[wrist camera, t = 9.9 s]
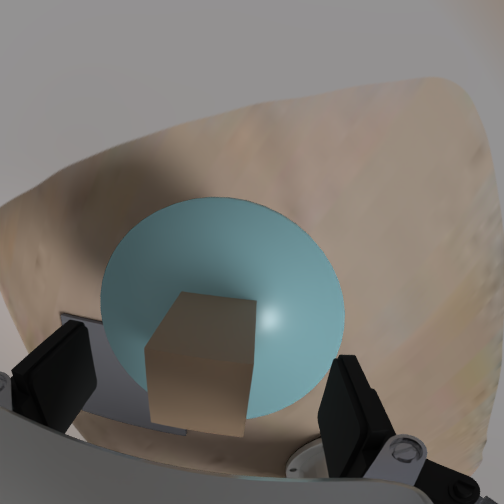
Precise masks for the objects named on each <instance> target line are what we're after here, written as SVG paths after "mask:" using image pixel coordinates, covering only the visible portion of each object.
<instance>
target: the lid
mask: <svg viewBox="0 0 504 504" xmlns="http://www.w3.org/2000/svg"><path fill="white" fill-rule="evenodd" d="M101 315H102V322H103V326H104V330H105V333H106V336H107V339H108V341H109V344H110V346H111V348H112V350H113V352H114V354H115V356H116V357H117V359H118V361H119V362H120V364H121V365H122V366H123V368H124V369H125V370H126V372H127V373H128V374H129V375H130V376H131V377H132V378H133V379H134V380H135V382H136V383H137V384H139V385H140V386H141V387H142V388H143V389H144V390H146V391H147V392H148V400H149V409H150V417H151V422H152V423H157V424H161V425H166V426H171V427H176V428H181V429H187V430H193V431H199V432H205V433H212V434H219V435H227V436H236V437H243V436H244V429H245V422H246V419H250V418H255V417H260V416H264V415H268V414H270V413H273V412H276V411H279V410H281V409H283V408H285V407H287V406H289V405H291V404H293V403H294V402H296V401H297V400H299V399H301V398H302V397H303V396H305V395H306V394H307V393H308V392H309V391H311V390H312V389H313V388H314V387H315V386H316V385H317V384H318V383H319V382H320V381H321V379H322V378H323V377H324V376H325V374H326V373H327V371H328V370H329V368H330V367H331V365H332V362H333V359H334V358H335V357H336V355H337V353H338V350H339V347H340V344H341V341H342V336H343V331H344V318H345V310H344V302H343V295H342V292H341V288H340V284H339V281H338V279H337V276H336V274H335V272H334V270H333V267H332V265H331V264H330V262H329V261H328V259H327V258H326V256H325V254H324V253H323V251H322V250H321V249H320V248H319V246H318V245H317V244H316V243H315V242H314V241H313V239H312V238H311V237H310V236H309V235H308V234H307V233H306V232H305V231H304V230H302V229H301V228H300V227H299V226H298V225H297V224H296V223H294V222H293V221H291V220H290V219H288V218H287V217H285V216H284V215H282V214H280V213H278V212H276V211H274V210H272V209H270V208H268V207H266V206H263V205H260V204H257V203H254V202H251V201H247V200H242V199H236V198H230V197H205V198H196V199H191V200H187V201H183V202H179V203H176V204H173V205H170V206H168V207H166V208H163V209H161V210H159V211H156V212H155V213H153V214H151V215H150V216H148V217H147V218H145V219H143V220H142V221H141V222H140V223H138V224H137V225H136V226H135V227H134V228H132V229H131V230H130V231H129V232H128V233H127V235H126V236H125V237H124V238H123V239H122V240H121V241H120V243H119V244H118V246H117V247H116V249H115V251H114V252H113V254H112V256H111V258H110V260H109V262H108V265H107V267H106V270H105V274H104V277H103V281H102V288H101Z"/></svg>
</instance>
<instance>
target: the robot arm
mask: <svg viewBox="0 0 504 504" xmlns="http://www.w3.org/2000/svg"><path fill="white" fill-rule="evenodd" d="M11 371H12V374H13V376H12V377H11V378H10V377H9V376H8V375H7V374H6V373H3V372H0V504H498V503H496V502H495V501H493V500H492V499H491V498H489V497H488V496H485V497H484V498H482V497H481V496H480V488H479V485H478V484H477V482H476V481H475V480H474V479H473V478H471V477H469V476H467V475H464V474H462V473H459V472H457V471H454V470H452V469H449V468H447V467H444V466H442V465H440V464H437V463H435V462H433V461H430V460H428V459H426V457H427V448H426V446H425V445H424V443H423V442H422V441H421V440H419V439H418V438H416V437H414V436H411V435H407V434H400V435H396V433H395V431H394V429H393V427H392V425H391V422H390V420H389V418H388V416H387V414H386V412H385V409H384V407H383V405H382V403H381V401H380V399H379V397H378V395H377V392H376V391H375V389H372V388H370V385H369V383H368V381H367V379H366V377H365V375H364V373H363V371H362V368H361V366H360V364H359V362H358V360H357V358H356V356H355V355H339V357H338V359H337V358H334V359H333V362H332V365H331V369H330V373H329V376H328V380H327V384H326V387H325V391H324V394H323V398H322V401H321V404H320V408H319V411H318V424H319V429H320V434H321V438H319V439H316V440H314V441H312V442H310V443H308V444H306V445H305V446H303V447H301V448H300V449H298V450H297V451H296V452H295V453H294V454H293V455H292V456H291V457H290V459H289V460H288V462H287V464H286V478H275V477H256V476H243V475H232V474H223V473H215V472H208V471H201V470H195V469H189V468H183V467H178V466H173V465H168V464H163V463H158V462H154V461H150V460H146V459H142V458H138V457H134V456H130V455H126V454H123V453H119V452H116V451H113V450H109V449H106V448H103V447H100V446H97V445H94V444H91V443H88V442H84V441H82V440H79V439H77V438H74V437H71V436H69V435H66V434H65V432H66V431H67V429H68V428H69V427H70V425H71V424H72V422H73V421H74V419H75V418H76V416H77V415H78V413H79V412H80V411H81V409H82V408H83V406H84V405H85V403H86V402H87V401H88V399H89V398H90V396H91V395H92V393H93V392H94V391H95V389H96V387H97V377H96V372H95V367H94V362H93V357H92V351H91V345H90V338H89V332H88V328H87V327H86V326H85V324H84V323H83V322H80V321H76V320H71V319H70V320H68V321H67V322H66V323H65V324H64V325H62V326H61V327H60V328H59V329H58V330H56V331H55V332H54V333H53V334H52V335H51V336H49V337H48V338H47V339H46V340H45V341H44V342H42V343H41V344H40V345H39V346H38V347H37V348H35V349H34V350H33V351H32V352H31V353H30V354H29V355H28V356H27V357H25V358H24V359H23V360H22V361H21V362H20V363H19V364H18V365H16V366H15V367H14V368H13V369H12V370H11Z"/></svg>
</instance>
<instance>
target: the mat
mask: <svg viewBox="0 0 504 504" xmlns="http://www.w3.org/2000/svg"><path fill="white" fill-rule="evenodd" d="M70 319H71V320H76V321H80V322H83V323H84V324H85V326H86V327H87V328H88V332H89V338H90V345H91V351H92V357H93V362H94V367H95V372H96V377H97V387H96V389H95V391H94V392H93V393H92V395H91V396H90V398H89V399H88V401H87V402H86V403H85V405H84V406H83V408H82V410H83V411H86V412H89V413H92V414H96V415H99V416H102V417H105V418H109V419H112V420H116V421H120V422H123V423H127V424H131V425H135V426H139V427H143V428H148V429H152V430H157V431H161V432H166V433H171V434H177V435H182V436H186V434H187V429H181V428H176V427H171V426H166V425H161V424H157V423H152V422H151V417H150V409H149V400H148V392H147V391H146V390H144V389H143V388H142V387H141V386H140V385H139V384H137V383H136V382H135V380H134V379H133V378H132V377H131V376H130V375H129V374H128V373H127V372H126V370H125V369H124V368H123V366H122V365H121V364H120V362H119V361H118V359H117V357H116V356H115V354H114V352H113V350H112V348H111V346H110V344H109V341H108V339H107V336H106V333H105V330H104V326H103V322H100V321H95V320H91V319H86V318H82V317H77V316H73V315H69V314H65V313H63V314H62V315H61V320H62V325H64V324H65V323H66V322H67V321H68V320H70Z"/></svg>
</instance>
